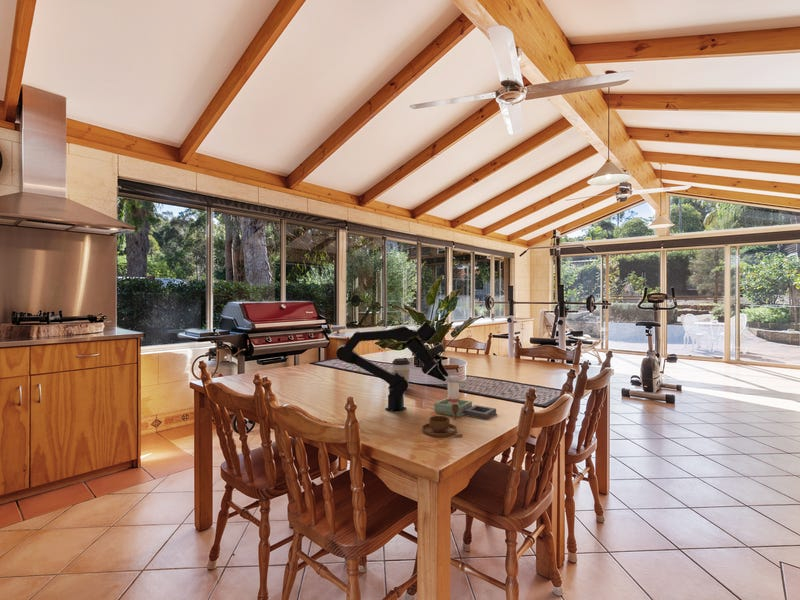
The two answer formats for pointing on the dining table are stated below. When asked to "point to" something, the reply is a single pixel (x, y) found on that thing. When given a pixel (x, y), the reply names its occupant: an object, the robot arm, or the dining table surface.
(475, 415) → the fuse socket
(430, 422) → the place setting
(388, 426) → the dining table surface
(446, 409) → the parts tray
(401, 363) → the coffee cup
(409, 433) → the dining table surface
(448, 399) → the fuse
